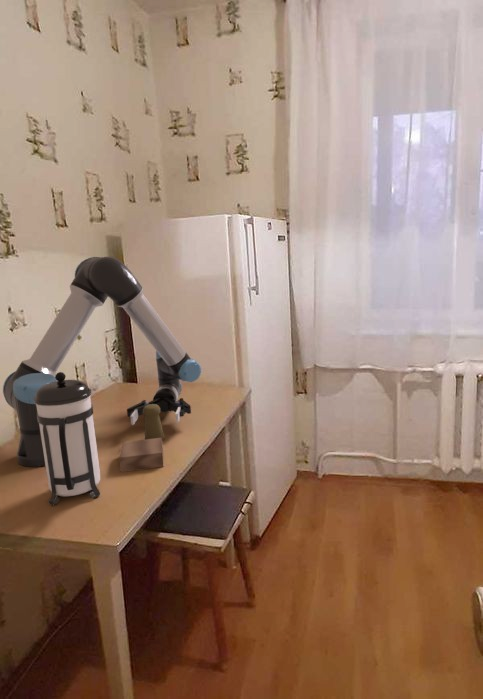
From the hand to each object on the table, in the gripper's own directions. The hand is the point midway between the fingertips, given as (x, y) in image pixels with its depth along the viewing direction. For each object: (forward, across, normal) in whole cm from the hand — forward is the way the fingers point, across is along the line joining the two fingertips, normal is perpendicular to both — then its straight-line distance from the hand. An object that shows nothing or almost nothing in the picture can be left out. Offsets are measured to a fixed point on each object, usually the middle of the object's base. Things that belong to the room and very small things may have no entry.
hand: (154, 419), depth 152 cm
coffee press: (+33, +13, -7) cm, 36 cm away
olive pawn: (0, 0, -7) cm, 7 cm away
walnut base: (+15, +1, -6) cm, 17 cm away
